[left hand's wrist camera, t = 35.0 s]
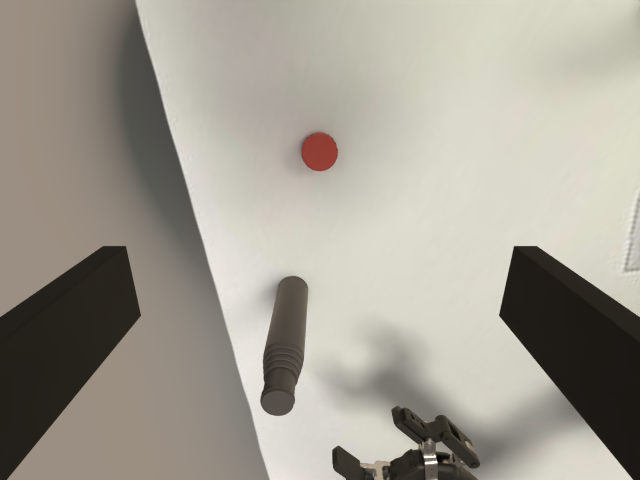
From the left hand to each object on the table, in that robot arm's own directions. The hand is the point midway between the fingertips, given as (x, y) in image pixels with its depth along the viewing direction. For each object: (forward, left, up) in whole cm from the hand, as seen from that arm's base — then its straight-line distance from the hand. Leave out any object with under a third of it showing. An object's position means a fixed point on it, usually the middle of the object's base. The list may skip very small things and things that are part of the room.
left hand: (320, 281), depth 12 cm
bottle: (+18, -7, -33) cm, 38 cm away
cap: (0, 0, -31) cm, 31 cm away
